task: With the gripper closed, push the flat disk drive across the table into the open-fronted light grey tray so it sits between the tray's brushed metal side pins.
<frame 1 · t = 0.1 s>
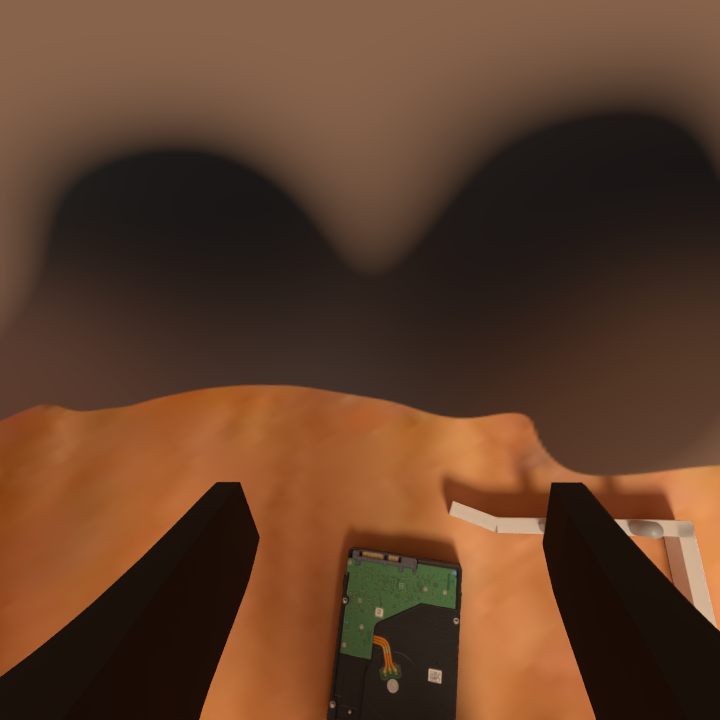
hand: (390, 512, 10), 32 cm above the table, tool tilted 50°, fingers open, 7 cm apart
drive tray: (594, 658, 34), on the table
disk drive: (398, 643, 37), on the table
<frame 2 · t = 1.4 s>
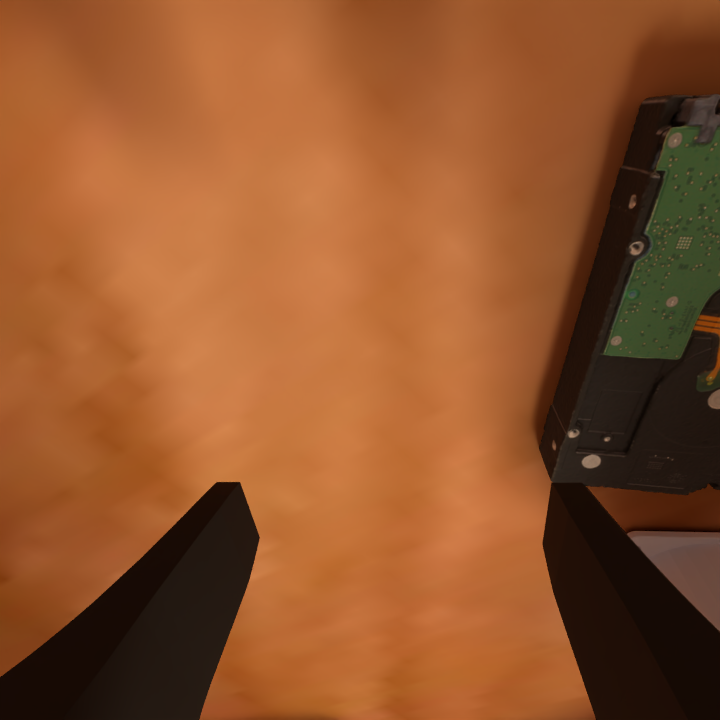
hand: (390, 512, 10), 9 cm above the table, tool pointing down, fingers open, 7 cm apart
disk drive: (702, 313, 17), on the table
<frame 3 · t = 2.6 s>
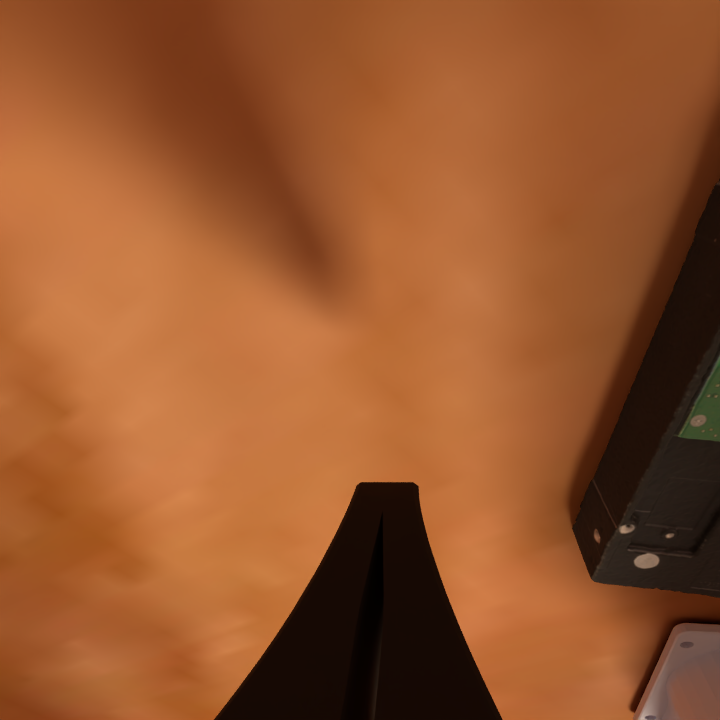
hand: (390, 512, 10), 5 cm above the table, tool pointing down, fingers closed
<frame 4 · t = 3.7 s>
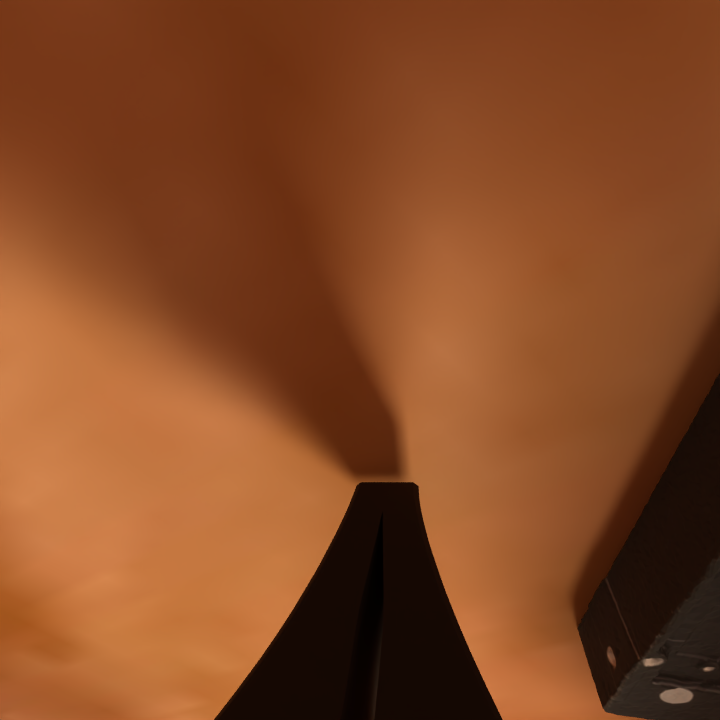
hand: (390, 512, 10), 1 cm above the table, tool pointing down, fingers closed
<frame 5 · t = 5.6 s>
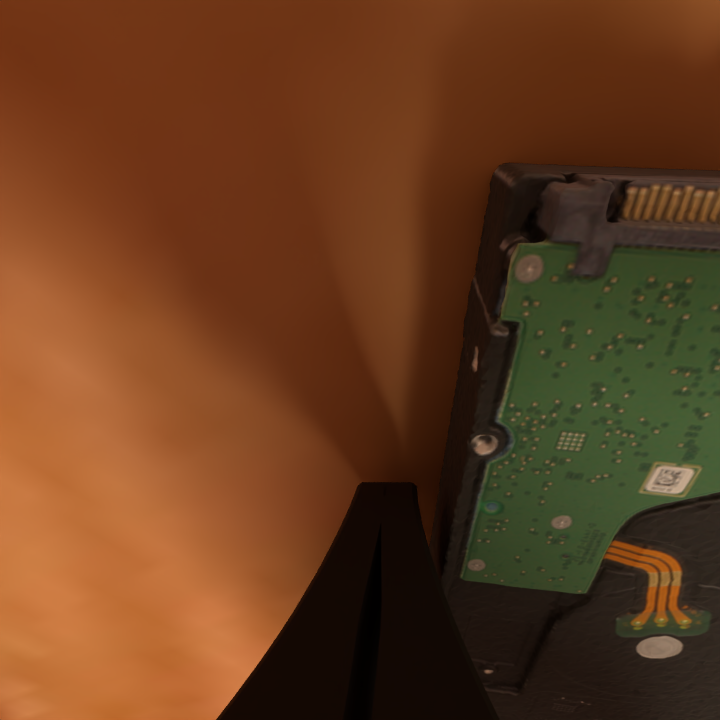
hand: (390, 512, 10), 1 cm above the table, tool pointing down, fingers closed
disk drive: (637, 482, 11), on the table, touching gripper
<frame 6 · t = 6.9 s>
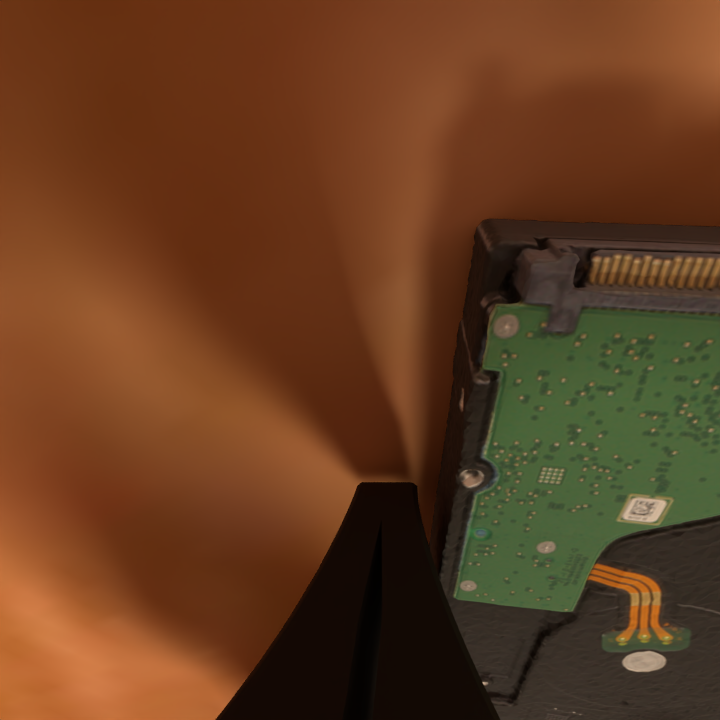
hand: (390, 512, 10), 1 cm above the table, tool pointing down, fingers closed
disk drive: (623, 502, 11), on the table, touching gripper
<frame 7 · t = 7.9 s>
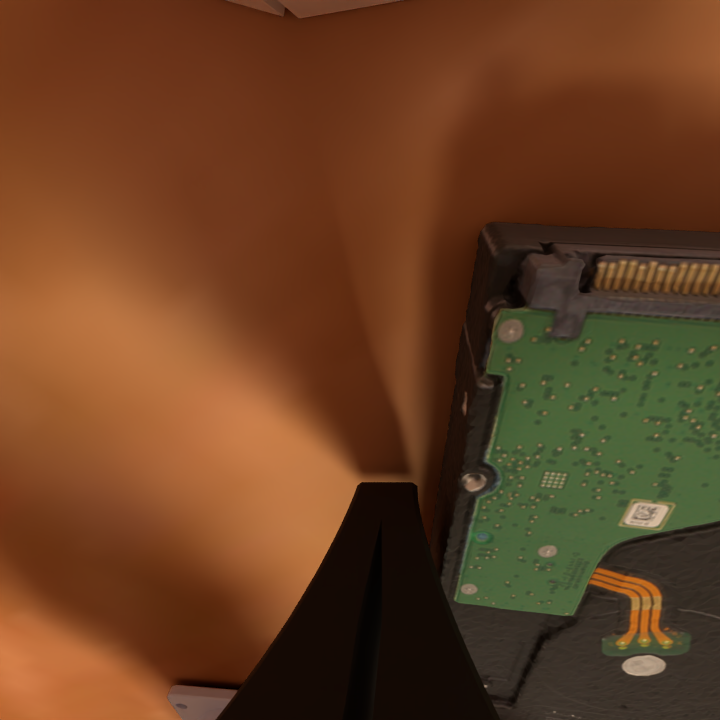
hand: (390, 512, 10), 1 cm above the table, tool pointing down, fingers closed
drive tray: (662, 481, 10), on the table
disk drive: (624, 506, 11), on the table, touching gripper
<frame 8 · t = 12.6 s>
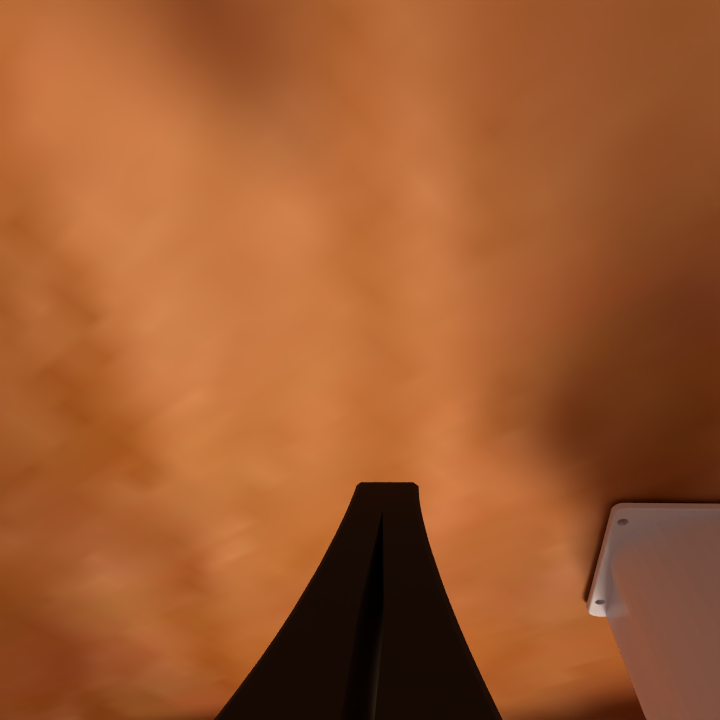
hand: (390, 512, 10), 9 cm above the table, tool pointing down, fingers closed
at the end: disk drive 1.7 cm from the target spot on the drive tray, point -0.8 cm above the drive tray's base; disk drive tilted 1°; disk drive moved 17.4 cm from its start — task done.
